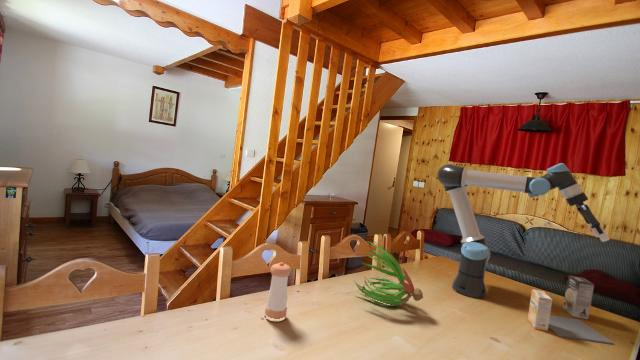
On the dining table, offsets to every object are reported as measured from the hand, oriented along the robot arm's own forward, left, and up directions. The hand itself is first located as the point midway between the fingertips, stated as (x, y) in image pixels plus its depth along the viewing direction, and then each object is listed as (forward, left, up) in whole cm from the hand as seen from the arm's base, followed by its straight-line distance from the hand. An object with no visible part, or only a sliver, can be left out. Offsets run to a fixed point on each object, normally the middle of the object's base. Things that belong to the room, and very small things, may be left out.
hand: (602, 238), depth 143 cm
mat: (-18, -15, -36) cm, 43 cm away
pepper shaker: (-133, -42, -36) cm, 144 cm away
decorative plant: (-93, -17, -36) cm, 101 cm away
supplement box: (-32, -17, -36) cm, 51 cm away
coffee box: (-4, +2, -36) cm, 36 cm away
